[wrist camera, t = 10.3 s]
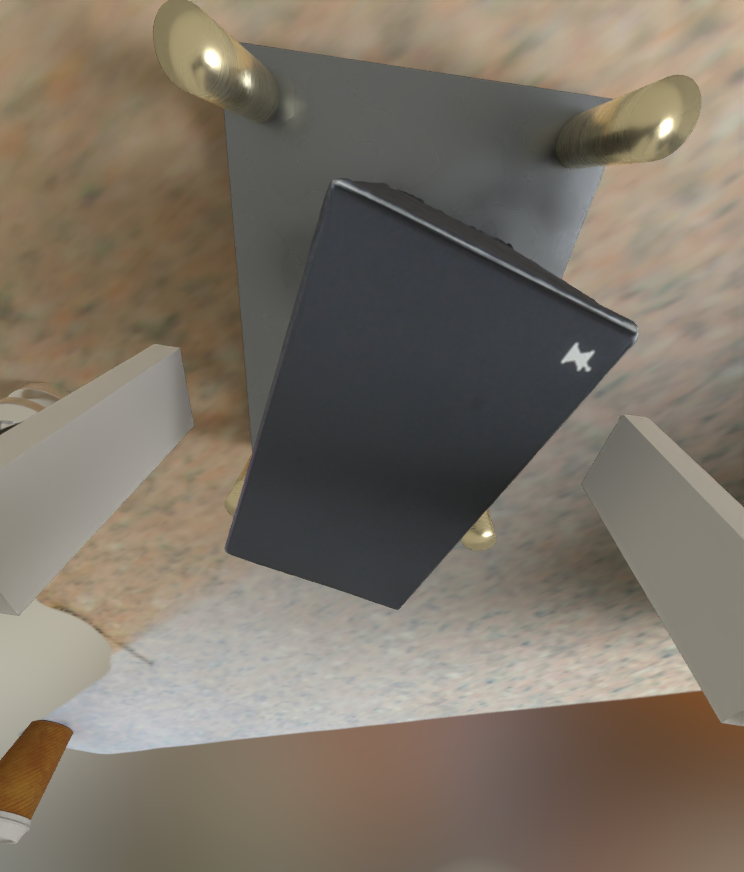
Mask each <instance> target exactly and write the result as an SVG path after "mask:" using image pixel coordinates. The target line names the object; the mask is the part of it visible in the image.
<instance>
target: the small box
mask: <svg viewBox="0 0 744 872" xmlns="http://www.w3.org/2000/svg"><path fill="white" fill-rule="evenodd" d="M637 339H638V327H637V325H636V324H635V323H634V322H633V321H631V320H629V319H627V318H625V317H623V316H621V315H619V314H617V313H615V312H613V311H611V310H609V309H607V308H605V307H603V306H601V305H600V304H598V303H597V302H596V301H595V300H593V299H592V298H590V297H588V296H587V295H585V294H583V293H582V292H580V291H579V290H577V289H576V288H574V287H572V286H571V285H569V284H568V283H566V282H565V281H563V280H562V279H560V278H559V277H557V276H555V275H554V274H552V273H551V272H549V271H548V270H546V269H544V268H543V267H541V266H540V265H538V264H537V263H535V262H534V261H532V260H530V259H528V258H527V257H525V256H523V255H522V254H520V253H518V252H516V251H515V250H514V249H513V246H512V245H511V244H510V243H507V244H506V243H505V242H504V241H503V240H501V239H497V238H491V237H489V236H487V235H485V234H484V232H483V231H481V230H477V229H476V228H475V227H473V226H468V225H466V224H464V223H462V222H461V221H459V220H456V219H454V218H452V217H450V216H448V215H446V214H444V213H443V212H442V211H441V210H437V209H435V208H432V207H431V206H429V205H427V204H425V203H424V201H423V200H422V199H420V198H417V197H415V196H414V195H411V194H408V193H407V192H404V191H401V190H399V189H395V188H393V187H391V186H389V185H387V184H385V183H371V182H365V181H351V180H350V179H347V178H339V179H335V180H332V181H331V182H330V184H329V187H328V189H327V192H326V194H325V198H324V201H323V204H322V208H321V211H320V215H319V219H318V223H317V227H316V230H315V233H314V237H313V240H312V243H311V247H310V251H309V254H308V258H307V262H306V266H305V269H304V273H303V276H302V280H301V283H300V287H299V290H298V294H297V297H296V301H295V304H294V308H293V311H292V315H291V318H290V322H289V325H288V329H287V333H286V336H285V340H284V343H283V347H282V350H281V354H280V358H279V361H278V365H277V368H276V372H275V375H274V379H273V382H272V386H271V390H270V393H269V397H268V400H267V404H266V407H265V411H264V414H263V418H262V421H261V425H260V428H259V432H258V435H257V439H256V442H255V446H254V449H253V453H252V456H251V460H250V463H249V467H248V470H247V474H246V477H245V480H244V484H243V487H242V491H241V494H240V498H239V501H238V504H237V508H236V511H235V515H234V518H233V522H232V525H231V528H230V532H229V536H228V539H227V542H226V546H225V551H226V553H228V554H231V555H233V556H236V557H239V558H242V559H245V560H248V561H250V562H253V563H256V564H259V565H262V566H266V567H269V568H272V569H275V570H278V571H281V572H284V573H287V574H290V575H294V576H298V577H300V578H303V579H306V580H309V581H312V582H316V583H319V584H322V585H325V586H328V587H331V588H334V589H338V590H341V591H344V592H346V593H349V594H352V595H355V596H358V597H361V598H364V599H367V600H369V601H372V602H375V603H378V604H381V605H384V606H387V607H390V608H393V609H397V610H398V609H400V608H401V606H402V605H403V604H404V603H405V602H406V601H407V600H408V599H409V597H410V596H411V595H412V594H413V593H414V592H415V591H416V589H417V588H418V587H419V586H420V585H421V584H422V583H423V582H424V580H425V579H426V578H427V577H428V576H429V575H430V574H431V573H432V571H433V570H434V569H435V568H436V567H437V566H438V565H439V563H440V562H441V561H442V560H443V559H444V558H445V557H446V556H447V555H448V553H449V552H450V551H451V550H452V549H453V548H454V547H455V546H456V545H457V543H458V542H459V541H460V540H461V539H462V538H463V536H464V535H465V534H466V533H467V532H468V531H469V529H470V528H471V527H472V526H473V525H474V524H475V523H476V522H477V521H478V519H479V518H480V517H481V516H482V515H483V514H484V513H485V511H486V510H487V509H488V508H489V507H490V506H491V505H492V504H493V503H494V501H495V500H496V499H497V498H498V497H499V496H500V494H501V493H502V492H503V491H504V490H505V489H506V488H507V487H508V485H509V484H510V483H511V482H512V481H513V480H514V479H515V478H516V477H517V476H518V474H519V473H520V472H521V471H522V470H523V469H524V467H525V466H526V465H527V464H528V463H529V462H530V460H531V459H532V458H533V457H534V456H535V455H536V453H537V452H538V451H539V450H540V449H541V448H542V447H543V446H544V445H545V444H546V442H547V441H548V440H549V439H550V438H551V437H552V436H553V435H554V433H555V432H556V431H557V430H558V429H559V428H560V427H561V426H562V424H563V423H564V422H565V421H566V420H567V419H568V418H569V416H570V415H571V414H572V413H573V412H574V411H575V410H576V409H577V407H578V406H579V405H580V404H581V403H582V402H583V401H584V400H585V398H586V397H587V396H588V395H589V394H590V393H591V391H592V390H593V389H594V388H595V387H596V386H597V385H598V383H599V382H600V381H601V380H602V379H603V378H604V377H605V376H606V374H607V373H608V372H609V371H610V370H611V369H612V368H613V366H614V365H615V364H616V363H617V362H618V361H619V360H620V359H621V358H622V357H623V356H624V354H625V353H626V352H627V351H628V350H629V349H630V348H631V347H632V346H633V345H634V344H635V342H636V341H637Z"/></svg>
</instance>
